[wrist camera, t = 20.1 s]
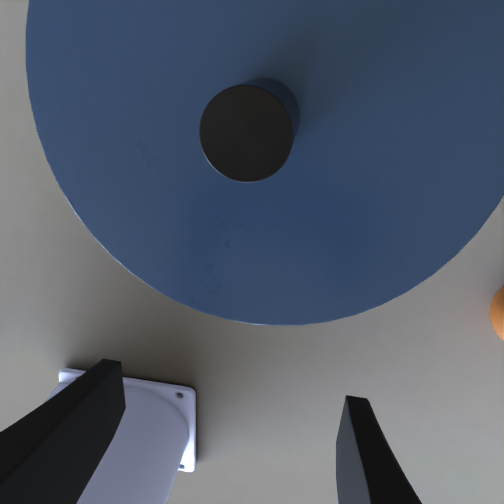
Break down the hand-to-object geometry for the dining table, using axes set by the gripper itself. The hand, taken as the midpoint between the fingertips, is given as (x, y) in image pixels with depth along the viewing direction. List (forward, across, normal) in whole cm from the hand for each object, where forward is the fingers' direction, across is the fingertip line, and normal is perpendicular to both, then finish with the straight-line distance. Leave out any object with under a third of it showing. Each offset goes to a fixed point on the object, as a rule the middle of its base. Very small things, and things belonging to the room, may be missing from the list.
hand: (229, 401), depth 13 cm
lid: (+5, 0, -8) cm, 10 cm away
